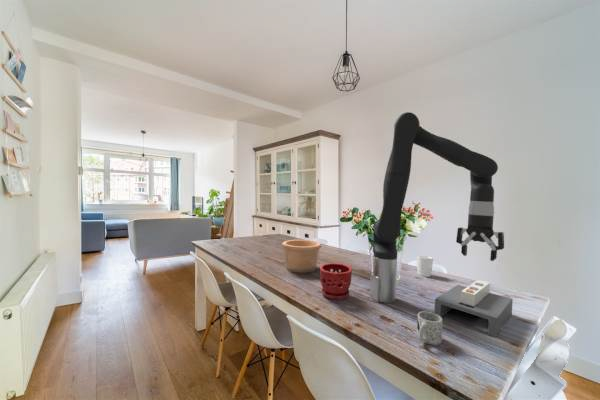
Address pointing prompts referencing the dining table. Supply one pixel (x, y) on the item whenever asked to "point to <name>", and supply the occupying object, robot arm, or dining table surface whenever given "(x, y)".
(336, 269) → the plant pot
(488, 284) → the power strip
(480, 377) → the dining table surface
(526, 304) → the dining table surface
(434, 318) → the mug
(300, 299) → the dining table surface
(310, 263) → the pottery
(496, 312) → the keyhole board
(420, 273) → the white cup
